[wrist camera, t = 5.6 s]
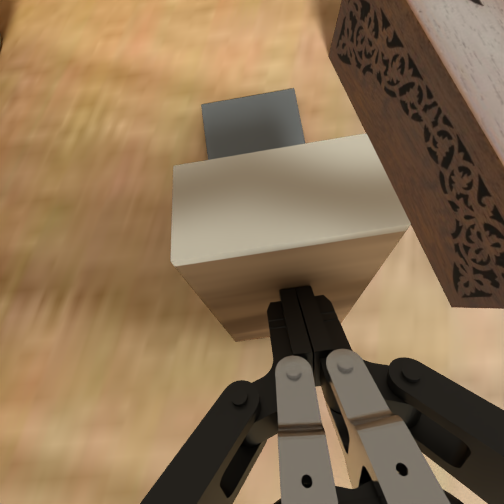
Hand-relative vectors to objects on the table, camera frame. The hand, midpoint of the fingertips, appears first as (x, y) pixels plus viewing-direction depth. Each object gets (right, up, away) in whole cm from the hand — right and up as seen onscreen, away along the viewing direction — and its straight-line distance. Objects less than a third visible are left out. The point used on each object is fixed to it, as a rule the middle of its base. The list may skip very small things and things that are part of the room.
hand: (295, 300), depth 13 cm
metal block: (0, -2, +9) cm, 9 cm away
